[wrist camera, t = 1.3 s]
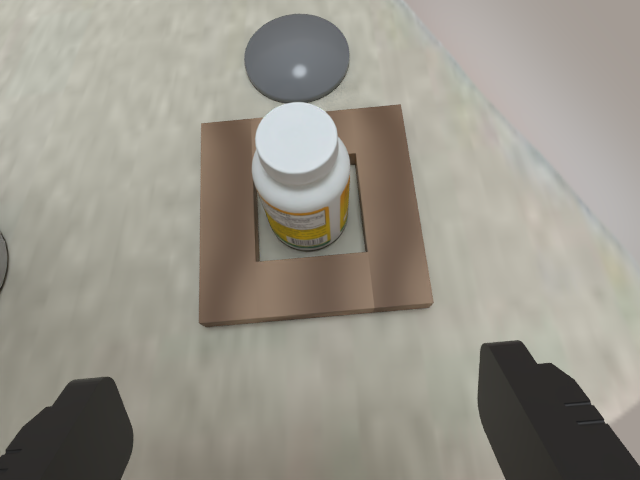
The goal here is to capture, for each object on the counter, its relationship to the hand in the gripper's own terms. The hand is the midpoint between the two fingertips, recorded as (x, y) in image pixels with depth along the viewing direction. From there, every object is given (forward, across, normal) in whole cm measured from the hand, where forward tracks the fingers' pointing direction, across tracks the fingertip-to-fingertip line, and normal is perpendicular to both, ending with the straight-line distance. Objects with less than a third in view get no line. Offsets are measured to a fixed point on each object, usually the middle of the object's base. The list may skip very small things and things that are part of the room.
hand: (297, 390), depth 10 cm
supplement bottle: (+21, 0, +4) cm, 21 cm away
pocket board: (+21, 0, +4) cm, 21 cm away
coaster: (+30, 0, -5) cm, 30 cm away
